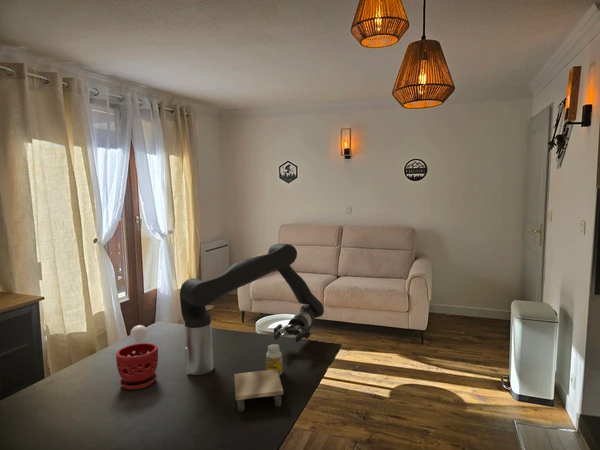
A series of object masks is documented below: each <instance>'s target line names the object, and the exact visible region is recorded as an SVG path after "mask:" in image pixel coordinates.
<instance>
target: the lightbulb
mask: <svg viewBox="0 0 600 450" xmlns="http://www.w3.org/2000/svg"><path fill="white" fill-rule="evenodd" d="M147 336H148V329H147V327H146V326H144V325H142V324H138V325H135V326H133V328H131V331H130V338H131V339H132V340H133V341H134V343H135V344H140V343H145V340H146V338H147ZM140 353H143V351H141V352H140Z"/></svg>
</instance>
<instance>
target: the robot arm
mask: <svg viewBox="0 0 600 450" xmlns="http://www.w3.org/2000/svg"><path fill="white" fill-rule="evenodd" d="M267 252H268V253H266V254H261V255H256V256H253V257H251V256H250V257H247V258H245V259H243V260H240V261H239V260H238V261H237V262H235V263H233V264H232V265H230V266H229V267H228V268H227V269H226V270H225V272H223V273H222V274H221V275H219V276H217V277H214V278H211V279H207V280H201V279H199V278H195V277H194V278H188V279H186V280H185V281H184V282H183V283H182V285H181V287H180V290H179V301H180V311H181V317H182V319H183V322H184V334H185V335H184V336H185V351H184V352H185V353H184V354H185V367H186V368H185V369H186V370H185V371H186V375H191V376H202V375H206V374H209V373H211V372H212V371H213V369H214V355H213V352H214V351H213V335H212V334H213V332H212V318H211V317H212V316H211V314H210V312H208V310H207V308H206V306H208V305H210V304H212V303H214V302H215V301H216V300H218V299H220V298H221V297H223V296H225V295H226V294H228V293H231V292H233V291H235V290H237V289H240V288H241V287H243V286H246V285H248V284H250V283H253V282H254V281H256V280H258V279H260V278H262V277H264V276H266V275H268V274H270V273H271V272H274V271H278V272H279V274H280V275H281V276H282V279H284V281H285V282H286V283H287V284H288V286H289V288H290V289H291V291H292V293H293V295H294V296H295V298H296V300H297V302H298V303H299V304H303V305H301V307H300V309H299V312H297V313H296V314H295V315H294V316H293V317H292V318H291V319H290V320H288V323H287V325H285V326H283V325H282V324H280V323H279V324H278V325H277V326H275V327H274V328H273V337H274V338H273V339H274V340H278V339H279V338H280V337H282V336H283V337H286V336H295V343H298V342H300V341H302V340H303V339H305V340H307V339H309V338H310V336H311V335H312V326H311V324H312V323H313V322H314V320H315V318H321V317H322V316H323V315H324V313H325V308H324V306H323V303H322V302H321V301H320V300H319V299H318V298H317V297H316V296H315V295H314V294H313V293H312V292H311V289H310V288H309V286H308V284H307V282H306V281H305V279H303V277H302V276H300V275H299V274H298V273H297V272H296V271H295V270H294V269H293V267H292V266H291V265H293V264H294V262H295V261H296V260H297V257H298V252H297V249H296V247H295V246H294V245H292V244H291V243H290V244H289V243H277V244H272V245H271V246H270V247H269V249H268V251H267Z"/></svg>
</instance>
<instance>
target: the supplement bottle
mask: <svg viewBox="0 0 600 450" xmlns="http://www.w3.org/2000/svg"><path fill="white" fill-rule="evenodd" d="M265 357H266V358H265V359H266V361H265V362H266V370H274V369H277V371H278V374H279V376H280V375H282V374H283V353H282V352H281V349H280V345H279V344H278V343H277V344H276V343H273V344H270V345H268V346H267V352H266V354H265Z"/></svg>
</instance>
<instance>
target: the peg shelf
mask: <svg viewBox="0 0 600 450" xmlns="http://www.w3.org/2000/svg"><path fill="white" fill-rule="evenodd" d="M234 391H235V392H234V393H235V401H237V411H238V412H244V411H245V410H246V407H245V400H248V399H250V400H251V399H256V398H263V397H264V398H265V397H273V398H274V406H275V407H276V408H279V407H281V406H282V396H283V395H284V389H283V385H282V382H281V378H280V375H279V374H278V371H277V369H274V370H267V369H266V370H257V371H249V372H240V373H234Z"/></svg>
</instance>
